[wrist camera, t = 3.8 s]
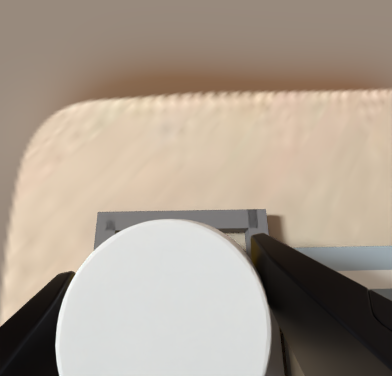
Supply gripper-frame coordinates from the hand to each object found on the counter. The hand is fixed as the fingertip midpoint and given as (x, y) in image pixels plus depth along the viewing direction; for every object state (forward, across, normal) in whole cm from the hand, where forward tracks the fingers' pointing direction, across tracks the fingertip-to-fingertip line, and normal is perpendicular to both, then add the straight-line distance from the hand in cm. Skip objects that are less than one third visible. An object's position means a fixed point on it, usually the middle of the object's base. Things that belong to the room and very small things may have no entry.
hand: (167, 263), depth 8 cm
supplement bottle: (+4, 0, +6) cm, 7 cm away
